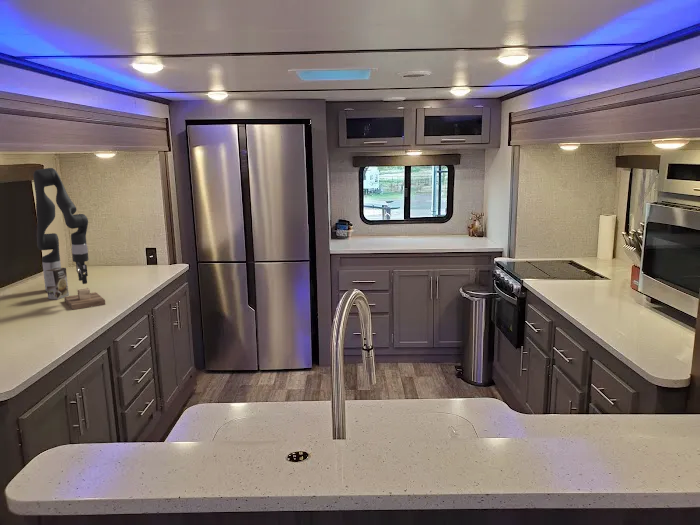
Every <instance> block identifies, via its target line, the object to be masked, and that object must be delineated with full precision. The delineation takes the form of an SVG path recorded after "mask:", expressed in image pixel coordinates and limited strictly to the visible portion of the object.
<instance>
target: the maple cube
mask: <svg viewBox="0 0 700 525" xmlns="http://www.w3.org/2000/svg"><path fill="white" fill-rule="evenodd" d="M76 291H77V295H78V298H79V299H80V300H84V299H90V293H91V290H90V288H88V287H82V288H77V290H76Z"/></svg>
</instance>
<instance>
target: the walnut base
mask: <svg viewBox="0 0 700 525" xmlns="http://www.w3.org/2000/svg"><path fill="white" fill-rule="evenodd" d="M63 299H64V303H66V305H67V306H68V307H69V308H70V309H71V310H73V311H74V310H78V309H79V310H80V309H85V307H86V308H92V307H98V306H103V305H104V306H105V305H106V299H105V298H104V297H102V296H101V295H100V294H99V293H98V292H96V291H95V292H90V299H84V300H80V299H79V298H78V294H74V295H69V296H66V297H63ZM91 306H92V307H91Z"/></svg>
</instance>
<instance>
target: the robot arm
mask: <svg viewBox="0 0 700 525" xmlns="http://www.w3.org/2000/svg"><path fill="white" fill-rule="evenodd" d="M60 177H61V176H60V175H59V174H58V172H57V170H56V169H55V168H53V167H48V168H47V167H45V168H40V169H36V170H34V172H33V184H34V190H35V213H36V226H37V227H36V246H37V249H38V250H39V251H50V250H51V252H49V253H48V254H46V255H44V256H42V257H41V262H42V271H43V280H44V281H43V282H44V289H45V292H47V283H46V273H45V271H46V270H50V269H53V268H62V267H61V266H62V264H61V263H62V262H61V256H60V242H59V236H58V234H57V233H53V232H52V233H46V231H47V229H48V227H49V226H50V225H51V224H52V223H53V221H54V220H55V218H56V206H55V203H54V201H52V199H50V197H49V196H48V195H47V194H46V193H45V187H46V188H47V187H50V186H54V187H55V189H56V196H55V202H56V204H57V207H58V208H59V210H60V212H61V213H62V216H63V218H64V223H65V225H66V226H67V228H69V229H77V230H76V231H74V232H73V233H71V234H70V241H71V254H72V257H71V258H72V261H73V262H74V263H75V266H76V268H75V269H76V272H77V277H78V281H80V282H81V283H82V284H83V285H86V284H88V278H87V277H88V276H89V274H88V266H87V264H86V263H85V262H88V261H89V260H90V258H89V251H88V243H87V231H88V225H89V219H88V217H87V215H85V214H84V213H79V214H75V213H76V212H77V207H76V205H75V204H74V202H73V200H72V199H71V198H70V196H69V194H68V193H67V189H66V187H65V185H64V183H63V181H62V180H61V178H60Z"/></svg>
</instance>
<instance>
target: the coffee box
mask: <svg viewBox="0 0 700 525" xmlns="http://www.w3.org/2000/svg"><path fill="white" fill-rule="evenodd" d="M45 273H46V283H47V291H46V293H47V299H49V300H60V299H64V297H66V296H70V295H69V294H70V293H69V286H68V284H69V283H68V276H67V268H66V267H61V268H53V269H50V270H46V271H45Z"/></svg>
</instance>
